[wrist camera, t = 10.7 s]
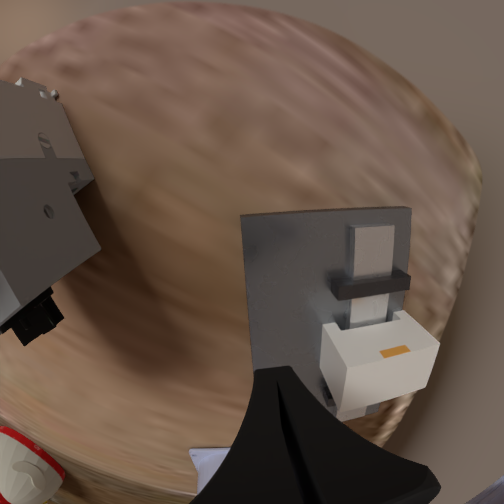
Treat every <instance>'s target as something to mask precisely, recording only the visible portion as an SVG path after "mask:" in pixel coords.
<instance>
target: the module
mask: <svg viewBox="0 0 504 504" xmlns="http://www.w3.org/2000/svg"><path fill="white" fill-rule="evenodd" d="M439 345H440V343H439V342H438V341H437V340H436V339H435V338H434V337H433V336H432V335H431V334H430V333H428V332H427V331H426V330H425V329H424V328H423V327H422V326H421V325H420V324H419V323H418V322H416V321H415V320H414V319H413V318H412V317H411V316H410V315H409V314H407V313H406V312H405V311H404V310H402V311H397V312H394V313H393V319H392V321H390V322H385V323H380V324H375V325H370V326H365V327H359V328H354V329H348V330H342V331H341V330H340V328H339V327H338V325H337V324H336V322H335V323H328V324H323V325H322V341H321V354H320V369H321V371H322V374H323V376H324V378H325V381H326V383H327V385H328V387H329V390H330V392H331V394H332V397H333V399H334V401H335V404H336V406H337V408H338V411H339V413H340V412H344V411H348V410H353V409H357V408H361V407H364V406H368V405H372V404H375V403H379V402H382V401H386V400H389V399H392V398H395V397H399V396H402V395H405V394H408V393H411V392H413V391H416V390H419V389H422V388H424V387H426V384H427V381H428V378H429V376H430V373H431V370H432V367H433V364H434V361H435V358H436V355H437V352H438V349H439Z"/></svg>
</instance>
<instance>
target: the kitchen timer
mask: <svg viewBox="0 0 504 504" xmlns="http://www.w3.org/2000/svg"><path fill="white" fill-rule="evenodd" d="M64 477H65V472H64V470H63V469H62V468H61V466H60V465H59V464H58V463H57V462H56V461H55V460H54V459H53V458H52V457H51V456H50V455H48V454H47V453H46V452H45V451H44V450H43V449H41V448H40V447H39V446H37V445H36V444H35V443H33V442H32V441H31V440H29V439H28V438H26V437H25V436H23V435H22V434H20V433H18V432H16V431H15V430H13V429H10V428H8V427H6V426H0V504H46V503H47V500H48V499H49V498H50V497H51V496H52V495H53V494H54V493H55V492H56V491H57V490H58V489H59V487H60V486H61V484H62V482H63V480H64Z"/></svg>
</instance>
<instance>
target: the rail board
mask: <svg viewBox="0 0 504 504" xmlns="http://www.w3.org/2000/svg"><path fill="white" fill-rule="evenodd" d="M411 209H412V208H409V207H405V206H395V207H364V208H341V209H321V210H303V211H287V212H273V213H259V214H246V215H240V218H241V231H242V243H243V256H244V268H245V281H246V293H247V305H248V317H249V328H250V340H251V351H252V363H253V374H254V371H255V370H256V369H262V368H271V367H280V366H288V365H289V366H291V367H292V368H293V370H294V371H295V373H296V374H297V376H298V377H299V378H300V380H301V381H302V382H303V384H304V385H305V386H306V387H307V389H308V390H309V391H310V392H311V393H312V394H313V395H314V396H315V397H316V399H317V400H318V401H319V402H320V403H321V404H322V405H323V406H324V407H325V408H326V409H327V410H328V411H329V412H330V413H332V414H333V415H334V416H335V417H336V418H337V419H338V420H340V421H341V422H342V421H346V420H350V419H354V418H358V417H362V416H364V415H368V414H371V413H375V412H378V409H379V406H380V402H379V403H375V404H372V405H368V406H364V407H361V408H357V409H353V410H348V411H344V412H340V413H339V411H338V408H337V406H336V404H335V401H334V399H333V397H332V394H331V392H330V390H329V387H328V385H327V383H326V381H325V378H324V376H323V374H322V371H321V369H320V354H321V341H322V325H323V324H328V323H335V322H336V324H337V325H338V327H339V328H340V330H341V331H342V330H348V329H354V328H359V327H365V326H370V325H375V324H380V323H385V322H390V321H392V319H393V313H394V312H397V311H402V307H403V300H404V293H405V290H409V287H410V280H411V276H410V275H408V274H407V269H408V259H409V248H410V233H411Z"/></svg>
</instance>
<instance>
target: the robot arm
mask: <svg viewBox="0 0 504 504" xmlns="http://www.w3.org/2000/svg"><path fill="white" fill-rule="evenodd" d="M189 454H190V456H191V458H192V461H193V463H194V465H195V467H196V469H197V471H198V486H197V496H196V497H195V498H194V499H193V500H192V501H191V502H190V503H189V504H429V503H430V501H432V500H433V499H434V498H435V497H436V496H437V494H438V493H439V491H440V489H441V485H440V484H439V482H438V480H437V478H436V477H435V475H434V474H433V473H432V472H431V470H430V469H429V468H428V466H425V465H422V464H419V463H416V462H413V461H410V460H407V459H404V458H401V457H399V456H397V455H395V454H392V453H390V452H388V451H386V450H384V449H382V448H380V447H379V446H377V445H375V444H373V443H371V442H370V441H368V440H366V439H364V438H363V437H361V436H360V435H358V434H357V433H355V432H354V431H353V430H351V429H350V428H348V427H347V426H346V425H345V424H343V423H342V422H341V421H340V420H338V419H337V418H336V417H335V416H334V415H333V414H332V413H330V412H329V411H328V410H327V409H326V408H325V407H324V406H323V405H322V404H321V403H320V402H319V401H318V400H317V399H316V397H315V396H314V395H313V394H312V393H311V392H310V391H309V390H308V389H307V387H306V386H305V385H304V384H303V382H302V381H301V380H300V378H299V377H298V376H297V374H296V373H295V371H294V370H293V368H292V367H291V366H289V365H288V366H280V367H271V368H262V369H256V370H255V371H254V383H253V389H252V394H251V398H250V401H249V405H248V408H247V411H246V414H245V417H244V420H243V422H242V425H241V427H240V430H239V432H238V434H237V436H236V438H235V440H234V442H233V444H232V446H231V448H192V449H190V450H189ZM465 504H504V475H503V476H502V477H501V478H499V479H498V480H497V481H496V482H495V483H493V484H492V485H491V486H489V487H488V488H486V489H485V490H484V491H482V492H481V493H480V494H478V495H477V496H476V497H474V498H472V499H471V500H469V501H468V502H466V503H465Z"/></svg>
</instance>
